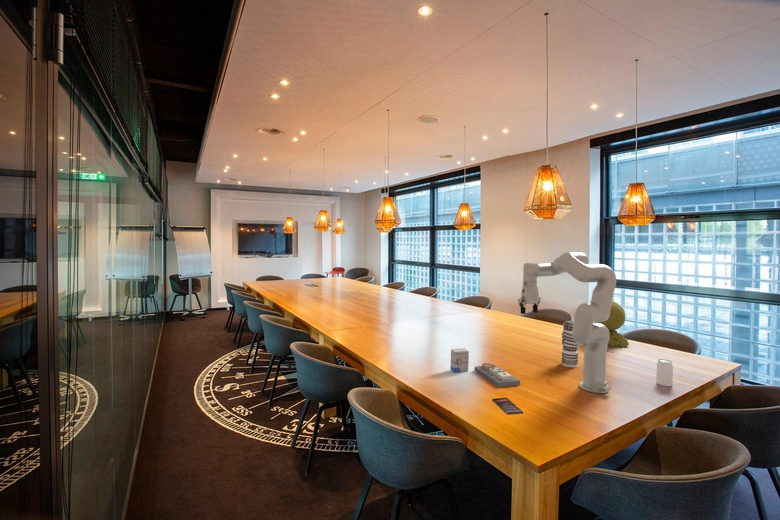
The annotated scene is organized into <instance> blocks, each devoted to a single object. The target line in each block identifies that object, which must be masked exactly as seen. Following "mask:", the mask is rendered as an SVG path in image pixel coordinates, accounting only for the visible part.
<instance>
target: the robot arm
mask: <svg viewBox="0 0 780 520" xmlns="http://www.w3.org/2000/svg"><path fill="white" fill-rule="evenodd" d="M565 273H567V274H568V275H570V276H571V277H572V278H574V279H575V280H577V281H578V282H581V283H585V284H586V283H597V284H596V285H595V287H594V288H593V290H592V293H591V299H590V301H588V302H583V303H581V304H579V305H578V307H577V308H576V309H575V314H574V319H573V321H574V324H573V331H572V335H573V339H574V341H575V342H576V343H577V344H578V346H584V349H583V366H582V367H583V368H582V370H583V371H582V375H583V376H582V381H581V382H579V383H578V384H579V385H578V386H579V388H580V389H582V390H584V391H586V392H590V393H596V394H606V393H609V391H611V390H612V387H611V386H608V381H606V380H607V379H606V375H607V374H606V372H607V350H608V347H607V345H608V341H609V330H608V329H607V327H606V326H604V325H603V324H599V323H596V322H603V321H606V320H607V319H608V318H609V315H610V310H611V305H612V301H613V298H614V293H615V289H616V285H617V275H616V273H615V272H614V269H612V268H611V267H610V266H608V265H606V264H601V263H593V264H589V257H588V256H587V254H585V253H583V252H579V251H577V252H576V251H575V252H574V251H573V252H571V251H570V252H569V251H568V252H564V253H562V254H561V255H560V256H558V257H556V258H555V259H554V260H553V262H552V261H551V262H544V263H543V262H542V263H535V262H525V263H524V264H523V269H522V275H523V277H522V287H521V293H520V298H518V299H517V302H518V305H519V307H520V311H519V312H520V314H521V315H526V305H532V312H533V313H535V314H538V312H539V311H538V309H539V308H538V307H539V305H540V303H541V299H542V298H541V297H540V296H539V287H538V282H537V281H538V277H539V278H540V277H541V278H542V277H552V276H559V275H562V274H565Z"/></svg>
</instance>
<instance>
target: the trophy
mask: <svg viewBox="0 0 780 520" xmlns="http://www.w3.org/2000/svg"><path fill="white" fill-rule="evenodd" d="M625 321H626V311H625V310H624V308H623V307H622V306H621V304H619V303H618V302H615V301H613V300H612V305H611V310H610V315H609V318H608V319H607V320H606V321H603V322H596V323H599V324H603V325H604V326H606V327H607V329H608V330H609V341H608V345H607V348H609V347H610V348H625V347H628V346H630V345H629V344H630V343H629V342H628V340H629V339H626V337H625V336H624V335H623V334H622V333H621V332H618V331H617V330H619V329H620V328H621V327H623V325H624V323H625Z"/></svg>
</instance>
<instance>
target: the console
mask: <svg viewBox="0 0 780 520" xmlns="http://www.w3.org/2000/svg"><path fill="white" fill-rule="evenodd" d="M495 366H496V367H498V368H500V367H499V366H497V365H495ZM502 370H503V372H506V371H505V370H504V369H502ZM474 372H475V373H477V374H478V375H480V376H481V377H483V378H484V379H485V380H487V381H488V382H490V383H491V384H492V385H494V386H496V387H497V388H506V387H516V386H521V380H520V379H518V378H517V377H515V376H514V375H512V380H506V381H502V380H500V379H499V378H497V375H495V376H494V375H492V374H491V373H489V370H488V371H486V370H485V369H483V368H482V365H479V366H478V365H477V366H474ZM507 373H508V374H510V373H509V372H507Z"/></svg>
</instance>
